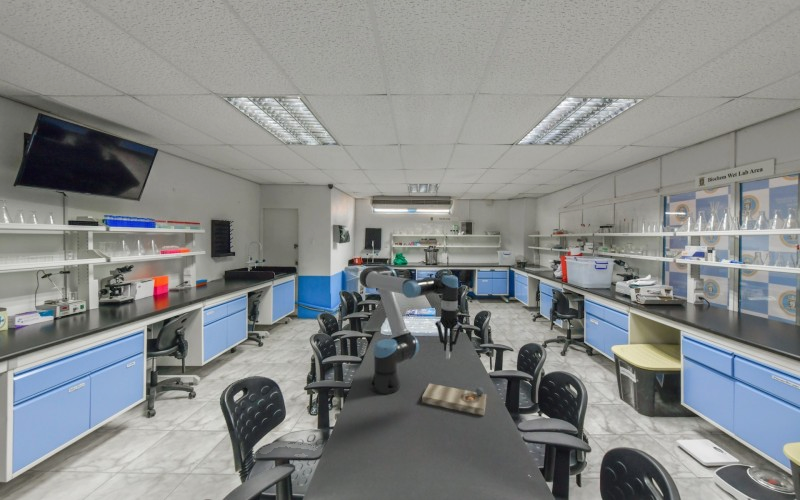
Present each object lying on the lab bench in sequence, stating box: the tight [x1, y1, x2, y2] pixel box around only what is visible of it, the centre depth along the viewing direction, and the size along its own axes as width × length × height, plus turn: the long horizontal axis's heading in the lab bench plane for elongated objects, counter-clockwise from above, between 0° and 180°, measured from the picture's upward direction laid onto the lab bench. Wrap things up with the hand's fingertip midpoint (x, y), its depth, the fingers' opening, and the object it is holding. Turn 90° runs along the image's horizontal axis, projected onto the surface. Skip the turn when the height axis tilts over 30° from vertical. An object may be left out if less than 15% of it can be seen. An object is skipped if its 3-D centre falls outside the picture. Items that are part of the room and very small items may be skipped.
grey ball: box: [475, 387, 484, 396], centre depth 141 cm, size 4×4×4 cm
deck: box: [421, 383, 487, 417], centre depth 141 cm, size 28×13×3 cm, turn 70°
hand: (448, 357), depth 141 cm, fingers closed
